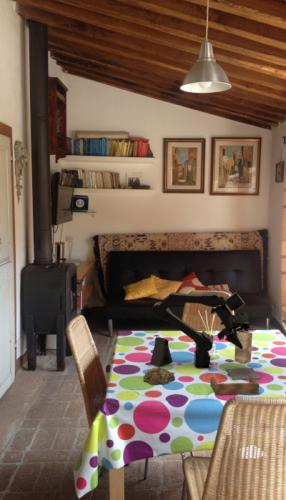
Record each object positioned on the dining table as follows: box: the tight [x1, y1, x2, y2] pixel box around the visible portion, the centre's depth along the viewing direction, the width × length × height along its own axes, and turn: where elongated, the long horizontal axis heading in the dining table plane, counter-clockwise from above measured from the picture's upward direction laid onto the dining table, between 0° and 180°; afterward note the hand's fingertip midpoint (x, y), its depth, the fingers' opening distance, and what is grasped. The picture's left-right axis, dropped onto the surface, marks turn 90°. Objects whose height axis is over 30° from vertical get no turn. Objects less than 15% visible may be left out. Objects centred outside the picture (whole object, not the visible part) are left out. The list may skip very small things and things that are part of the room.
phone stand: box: [149, 336, 174, 368], centre depth 204 cm, size 9×6×12 cm, turn 132°
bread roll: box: [142, 366, 176, 386], centre depth 186 cm, size 13×12×5 cm
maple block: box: [234, 330, 253, 365], centre depth 191 cm, size 5×5×13 cm
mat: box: [225, 367, 261, 381], centre depth 192 cm, size 12×12×1 cm
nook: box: [209, 376, 260, 396], centre depth 176 cm, size 17×9×4 cm, turn 93°
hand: (246, 347), depth 189 cm, fingers closed on maple block, 5 cm apart
